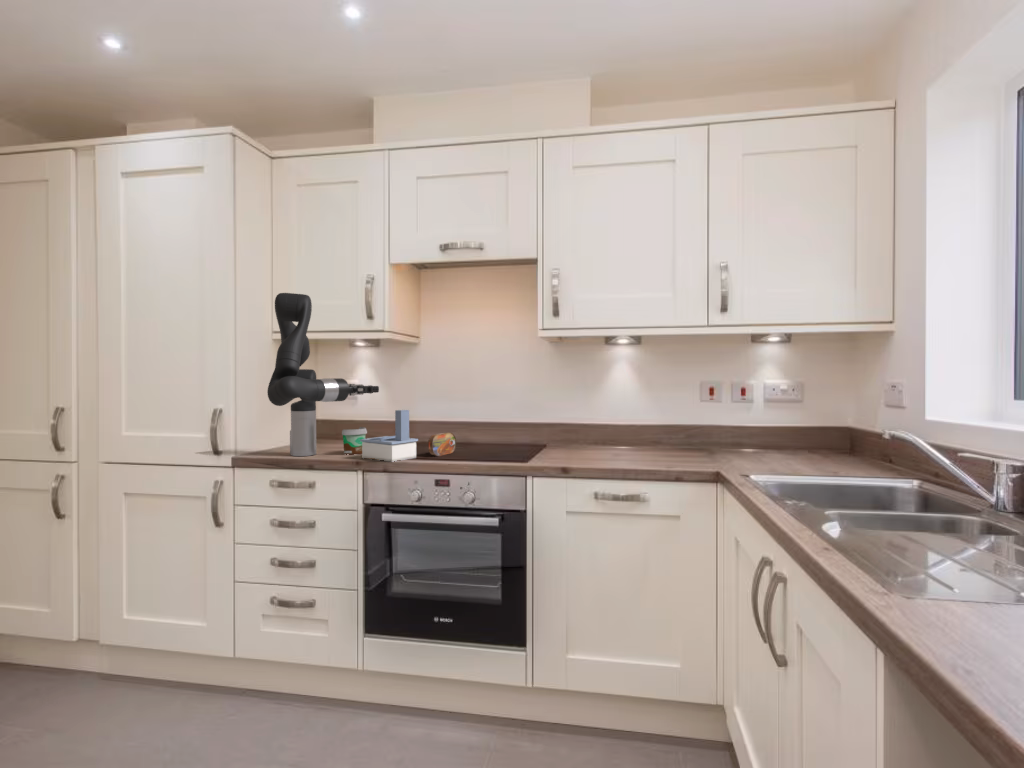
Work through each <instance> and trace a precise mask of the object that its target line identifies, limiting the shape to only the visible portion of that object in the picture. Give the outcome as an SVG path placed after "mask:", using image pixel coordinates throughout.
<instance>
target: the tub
mask: <svg viewBox="0 0 1024 768" xmlns="http://www.w3.org/2000/svg"><path fill="white" fill-rule="evenodd" d="M361 456H362V457H361V458H362V459H364V458H375V459H379V460H378V461H380V460H384V461H383V462H389V463H395V462H398V461H397V460H401V461H405V460H412V459H417V441H414V442H407V443H400V444H393V445H390V444H381V443H371V442H362V454H361ZM394 461H395V462H394Z"/></svg>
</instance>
